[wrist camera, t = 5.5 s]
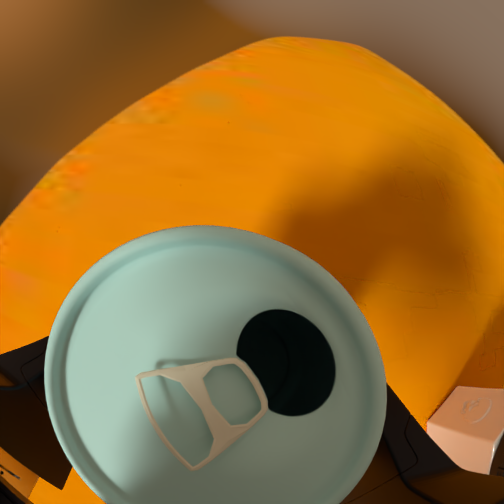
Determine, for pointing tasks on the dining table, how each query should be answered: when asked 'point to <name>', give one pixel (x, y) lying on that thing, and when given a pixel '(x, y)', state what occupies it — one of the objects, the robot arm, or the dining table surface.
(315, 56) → the dining table surface
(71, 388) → the can
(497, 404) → the jar
